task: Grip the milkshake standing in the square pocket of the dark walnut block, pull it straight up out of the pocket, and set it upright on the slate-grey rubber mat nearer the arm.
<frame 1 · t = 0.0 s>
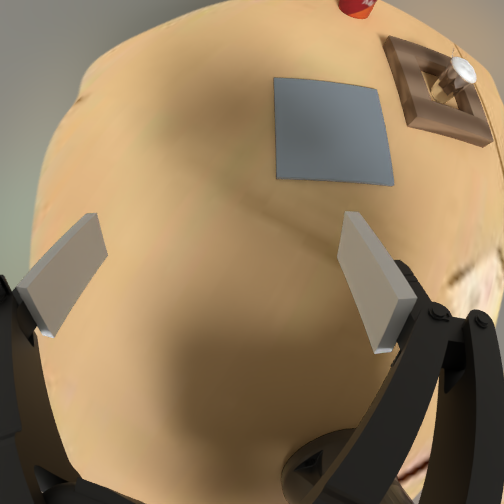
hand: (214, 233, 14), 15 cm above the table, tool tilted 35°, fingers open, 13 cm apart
milkshake: (435, 94, 31), on the table
mat: (333, 127, 30), on the table
pocket block: (436, 93, 31), on the table
paper cup: (353, 11, 32), on the table
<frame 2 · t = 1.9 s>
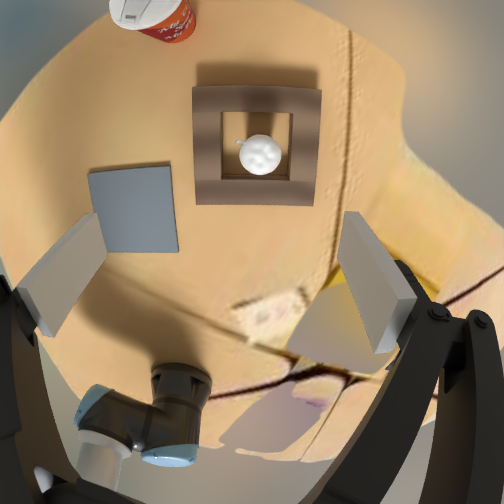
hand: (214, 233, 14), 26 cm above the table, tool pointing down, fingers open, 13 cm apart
milkshake: (255, 142, 36), on the table
mat: (132, 211, 41), on the table
pocket block: (255, 143, 36), on the table
paper cup: (176, 26, 27), on the table
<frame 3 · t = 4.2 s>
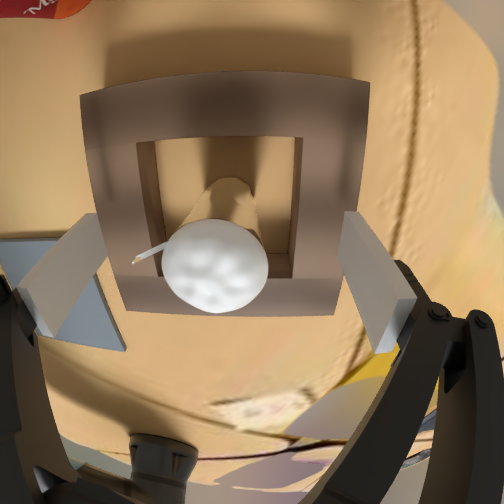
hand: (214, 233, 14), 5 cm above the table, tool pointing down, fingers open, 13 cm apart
milkshake: (224, 195, 19), on the table
mat: (54, 295, 24), on the table
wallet: (444, 412, 45), on the table
pocket block: (224, 196, 18), on the table
terrain model: (408, 458, 70), on the table
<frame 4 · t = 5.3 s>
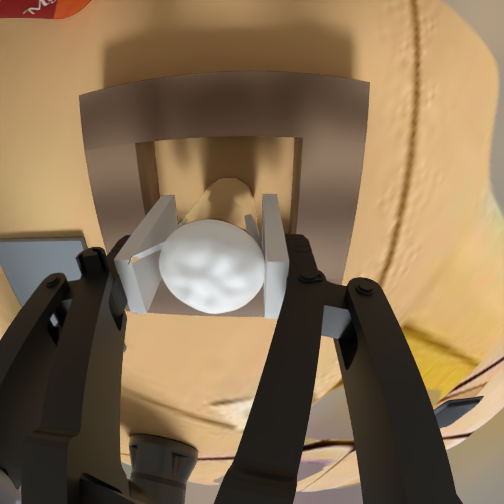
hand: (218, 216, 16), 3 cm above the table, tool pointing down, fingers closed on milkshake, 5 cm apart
milkshake: (224, 195, 19), on the table, touching gripper
mat: (54, 296, 24), on the table
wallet: (444, 412, 45), on the table
pocket block: (223, 196, 18), on the table
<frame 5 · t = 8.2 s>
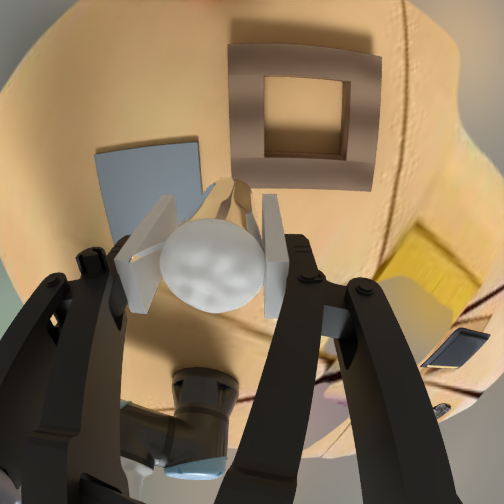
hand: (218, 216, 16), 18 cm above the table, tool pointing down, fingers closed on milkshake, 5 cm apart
milkshake: (225, 194, 19), point 15 cm above the table, touching gripper
mat: (150, 198, 34), on the table
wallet: (457, 348, 55), on the table
pocket block: (303, 115, 28), on the table
terrain model: (425, 415, 80), on the table
when the fingers open (5 cm above the table, at t = 11.5 s): milkshake drops 1 cm, resting on mat.
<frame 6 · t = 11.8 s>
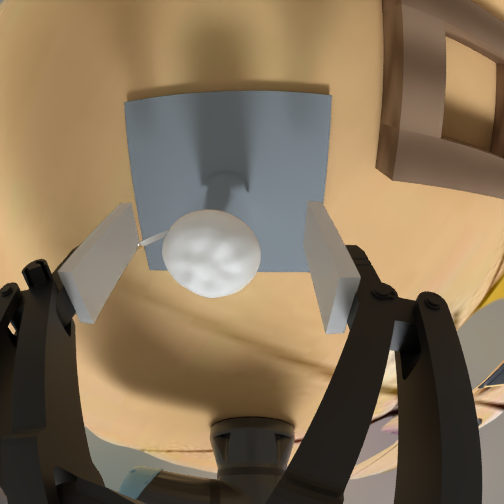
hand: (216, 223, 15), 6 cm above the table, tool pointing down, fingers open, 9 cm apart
milkshake: (221, 189, 20), resting on mat
mat: (226, 187, 20), on the table
pocket block: (464, 91, 14), on the table
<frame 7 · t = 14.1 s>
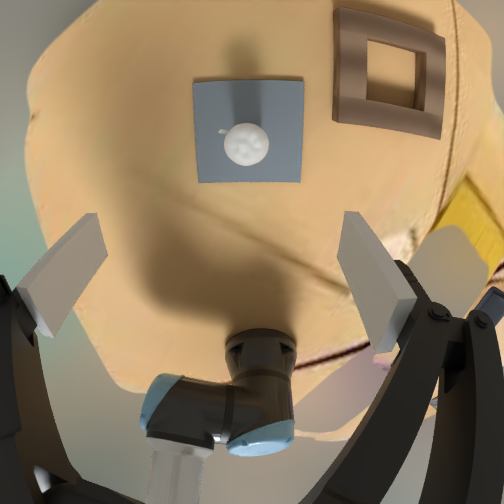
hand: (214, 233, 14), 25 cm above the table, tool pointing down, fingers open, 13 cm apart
milkshake: (245, 131, 34), resting on mat
mat: (248, 131, 34), on the table
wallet: (488, 310, 55), on the table
pocket block: (388, 73, 29), on the table
terrain model: (451, 390, 81), on the table
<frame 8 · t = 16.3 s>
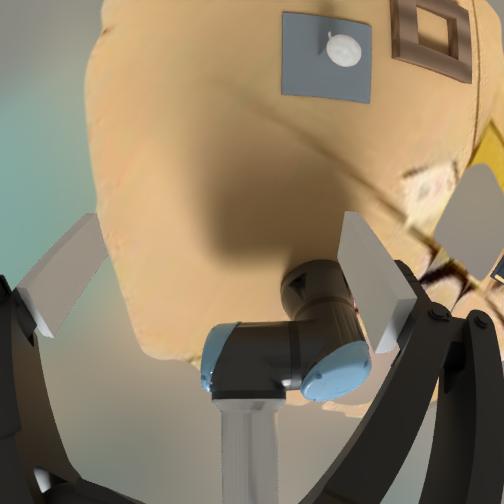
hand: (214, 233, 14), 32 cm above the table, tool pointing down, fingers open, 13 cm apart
milkshake: (326, 55, 33), resting on mat
mat: (327, 56, 33), on the table
pocket block: (429, 31, 28), on the table
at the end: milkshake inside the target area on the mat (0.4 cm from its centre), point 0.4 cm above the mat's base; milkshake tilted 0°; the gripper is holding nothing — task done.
